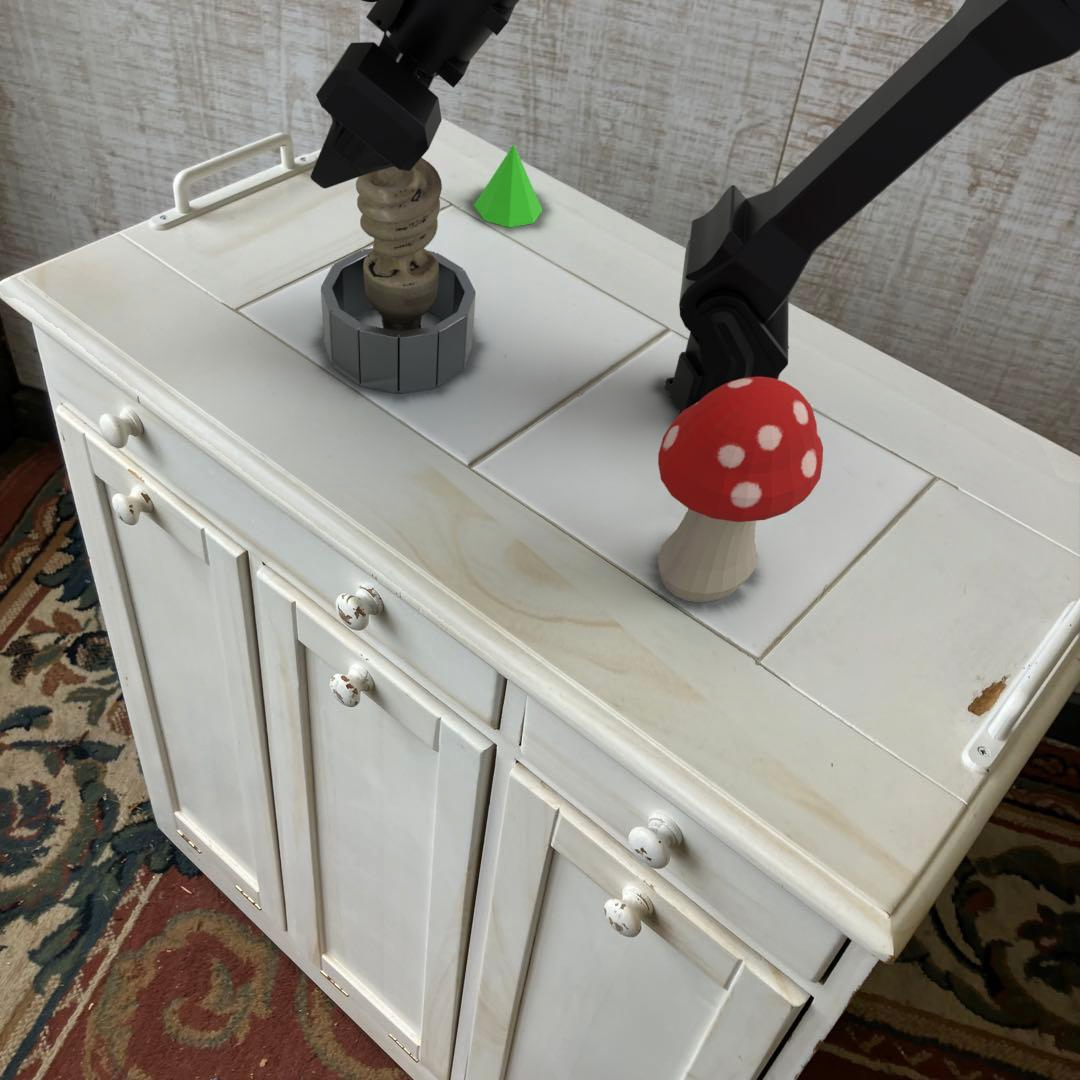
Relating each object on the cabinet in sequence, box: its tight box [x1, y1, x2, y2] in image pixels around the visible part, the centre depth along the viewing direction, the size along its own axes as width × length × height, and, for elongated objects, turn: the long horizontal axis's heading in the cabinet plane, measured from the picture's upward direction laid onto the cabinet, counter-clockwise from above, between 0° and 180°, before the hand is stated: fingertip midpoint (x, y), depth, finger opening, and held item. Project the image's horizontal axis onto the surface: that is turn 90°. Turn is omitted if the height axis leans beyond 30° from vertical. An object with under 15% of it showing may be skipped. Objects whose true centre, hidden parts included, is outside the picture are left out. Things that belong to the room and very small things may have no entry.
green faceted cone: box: [473, 144, 543, 228], centre depth 92 cm, size 6×6×6 cm
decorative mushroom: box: [657, 377, 824, 603], centre depth 64 cm, size 10×9×15 cm
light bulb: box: [355, 157, 443, 331], centre depth 75 cm, size 6×6×15 cm
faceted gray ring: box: [320, 247, 476, 394], centre depth 79 cm, size 11×11×5 cm
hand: (338, 145), depth 69 cm, fingers open, 9 cm apart
